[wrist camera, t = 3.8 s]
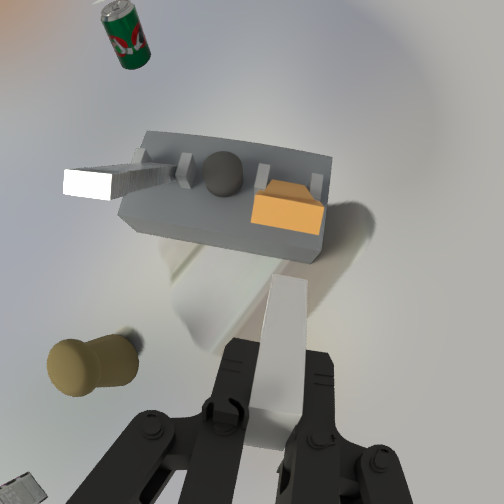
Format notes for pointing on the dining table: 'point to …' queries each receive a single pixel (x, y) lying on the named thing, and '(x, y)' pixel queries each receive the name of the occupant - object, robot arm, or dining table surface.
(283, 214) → the orange lever
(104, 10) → the soda can
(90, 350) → the cork
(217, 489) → the robot arm
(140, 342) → the dining table surface
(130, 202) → the console
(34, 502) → the candy bar box
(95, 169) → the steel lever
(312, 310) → the dining table surface
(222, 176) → the button
